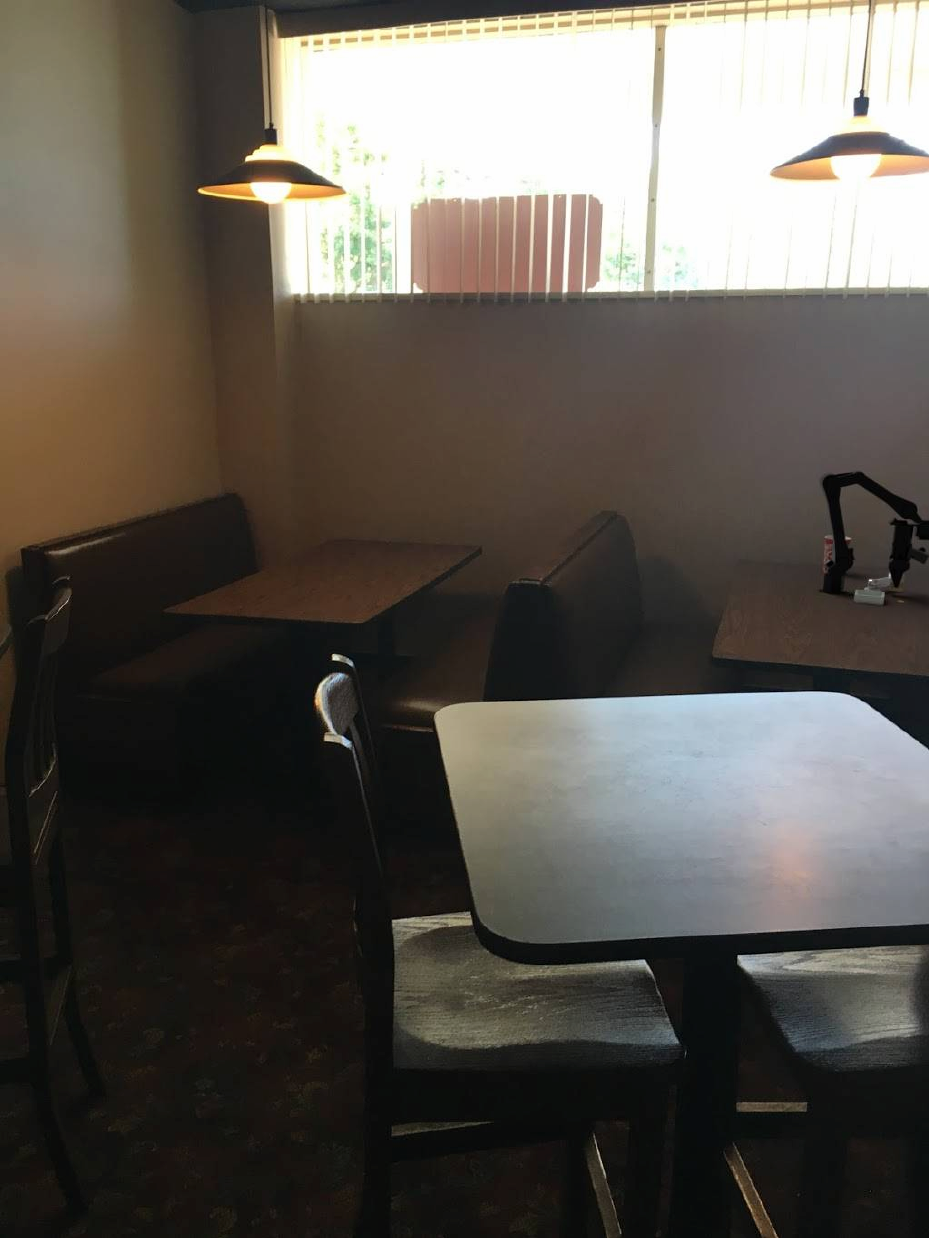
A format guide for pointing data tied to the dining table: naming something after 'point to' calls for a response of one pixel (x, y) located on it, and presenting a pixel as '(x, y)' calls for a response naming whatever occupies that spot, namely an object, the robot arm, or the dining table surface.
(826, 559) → the mug
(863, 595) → the stop tray
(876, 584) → the crank
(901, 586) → the stop block
